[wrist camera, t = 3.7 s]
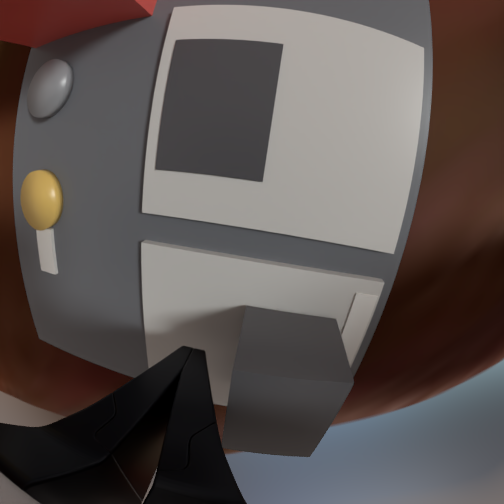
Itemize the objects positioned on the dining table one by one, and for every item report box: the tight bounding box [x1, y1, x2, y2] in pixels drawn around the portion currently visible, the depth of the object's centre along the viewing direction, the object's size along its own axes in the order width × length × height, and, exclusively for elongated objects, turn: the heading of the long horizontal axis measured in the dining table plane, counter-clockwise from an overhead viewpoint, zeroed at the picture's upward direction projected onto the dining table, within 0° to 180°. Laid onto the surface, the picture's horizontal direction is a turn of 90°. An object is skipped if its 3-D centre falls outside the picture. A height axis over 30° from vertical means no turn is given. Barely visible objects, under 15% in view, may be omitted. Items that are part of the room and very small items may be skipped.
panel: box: [13, 0, 433, 406], centre depth 8 cm, size 16×22×2 cm
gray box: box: [222, 306, 354, 457], centre depth 8 cm, size 3×4×3 cm
